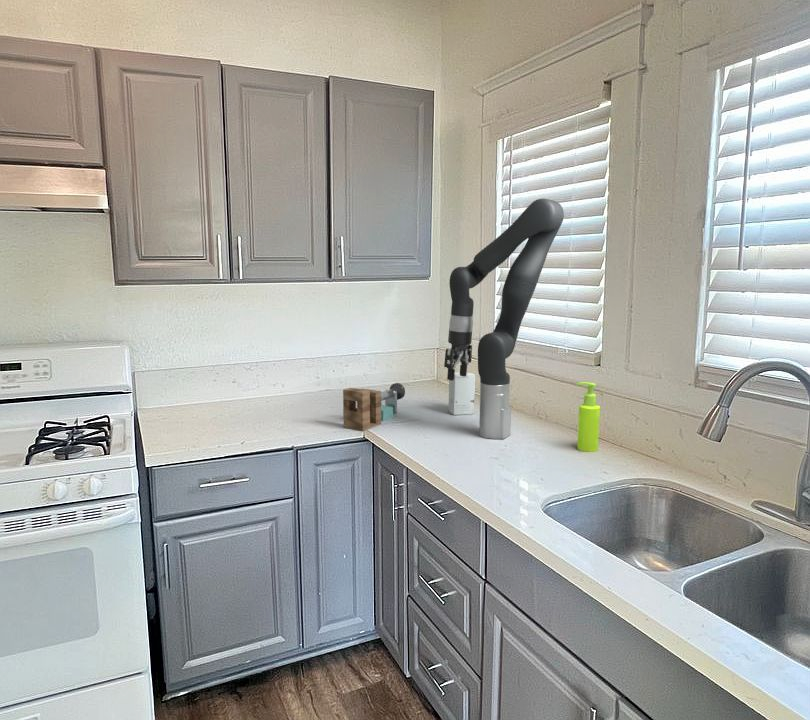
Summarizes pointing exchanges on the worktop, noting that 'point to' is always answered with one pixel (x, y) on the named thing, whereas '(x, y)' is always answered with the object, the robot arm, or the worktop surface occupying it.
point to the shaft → (392, 396)
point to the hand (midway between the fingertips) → (456, 378)
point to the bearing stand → (361, 408)
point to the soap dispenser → (588, 421)
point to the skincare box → (462, 394)
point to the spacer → (386, 412)
